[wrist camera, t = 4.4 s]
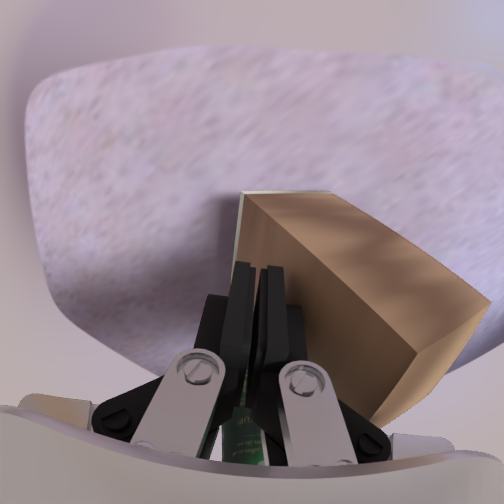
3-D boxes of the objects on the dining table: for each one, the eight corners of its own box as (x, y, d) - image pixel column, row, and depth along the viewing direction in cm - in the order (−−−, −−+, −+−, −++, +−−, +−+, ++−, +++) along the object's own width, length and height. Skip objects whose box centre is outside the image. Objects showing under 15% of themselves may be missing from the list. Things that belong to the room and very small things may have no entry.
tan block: (328, 190, 15) (491, 302, 8) (309, 271, 18) (428, 394, 10) (240, 191, 13) (417, 353, 6) (230, 283, 16) (342, 450, 8)
